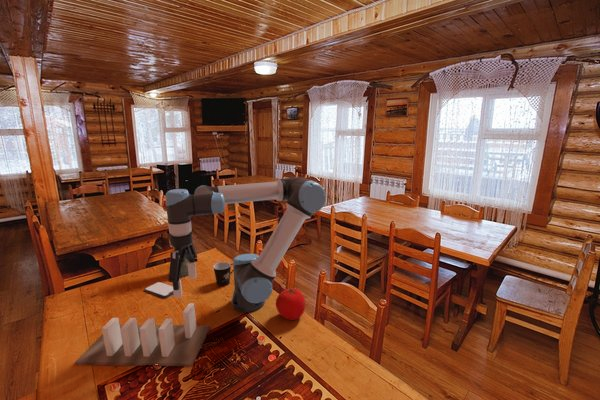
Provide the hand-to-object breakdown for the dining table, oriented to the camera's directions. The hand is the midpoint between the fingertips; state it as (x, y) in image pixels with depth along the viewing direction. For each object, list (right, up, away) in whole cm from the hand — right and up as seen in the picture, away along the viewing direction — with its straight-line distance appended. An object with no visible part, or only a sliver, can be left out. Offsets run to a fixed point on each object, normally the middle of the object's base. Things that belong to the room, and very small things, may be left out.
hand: (185, 287), depth 112 cm
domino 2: (-17, -21, -4) cm, 28 cm away
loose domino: (0, -19, +5) cm, 20 cm away
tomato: (+39, -17, +16) cm, 45 cm away
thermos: (-22, -8, +55) cm, 59 cm away
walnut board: (-14, -21, 0) cm, 25 cm away
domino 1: (-24, -21, -4) cm, 32 cm away
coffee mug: (+4, -11, +44) cm, 46 cm away
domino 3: (-11, -21, -4) cm, 24 cm away
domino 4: (-4, -21, -4) cm, 22 cm away
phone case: (-26, -13, +37) cm, 47 cm away
